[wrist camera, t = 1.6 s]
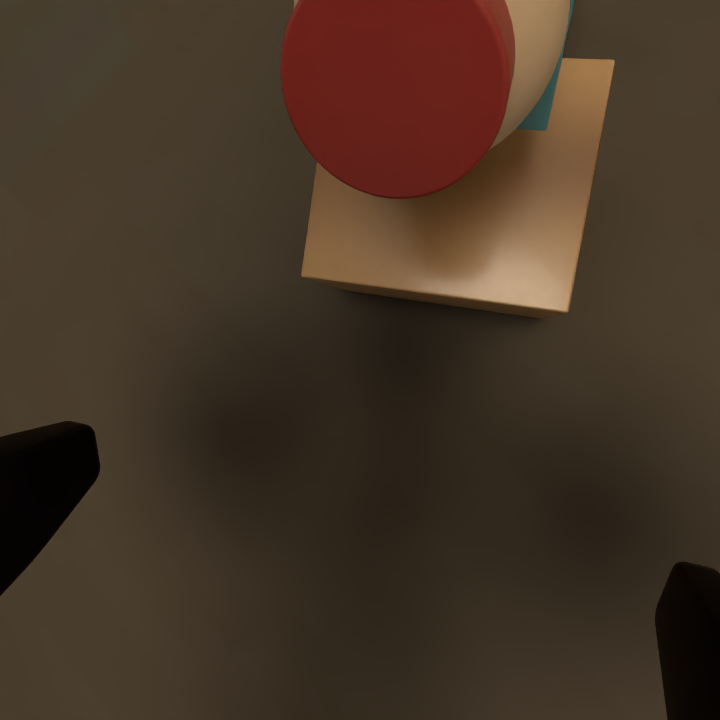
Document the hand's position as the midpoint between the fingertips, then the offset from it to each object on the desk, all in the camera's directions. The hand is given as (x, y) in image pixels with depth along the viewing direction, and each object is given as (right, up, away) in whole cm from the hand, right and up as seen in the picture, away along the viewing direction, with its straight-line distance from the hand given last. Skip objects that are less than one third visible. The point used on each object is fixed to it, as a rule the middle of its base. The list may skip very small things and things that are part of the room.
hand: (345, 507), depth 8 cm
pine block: (+4, +7, +10) cm, 13 cm away
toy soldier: (+4, +11, +10) cm, 15 cm away
